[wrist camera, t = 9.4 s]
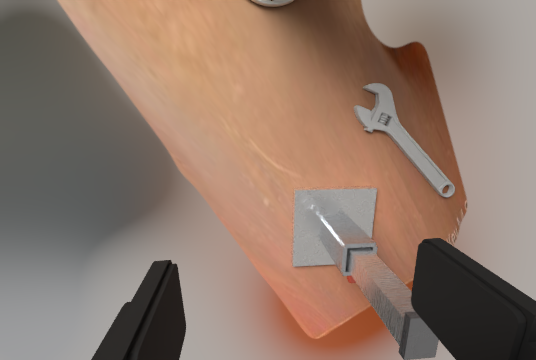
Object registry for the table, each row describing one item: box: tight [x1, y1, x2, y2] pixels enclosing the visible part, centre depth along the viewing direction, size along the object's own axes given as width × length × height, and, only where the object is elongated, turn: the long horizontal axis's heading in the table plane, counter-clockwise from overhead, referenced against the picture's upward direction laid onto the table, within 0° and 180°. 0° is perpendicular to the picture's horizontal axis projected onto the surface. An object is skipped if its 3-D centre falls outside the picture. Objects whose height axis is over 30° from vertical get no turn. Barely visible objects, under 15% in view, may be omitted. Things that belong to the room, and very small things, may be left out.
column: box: [346, 247, 439, 360], centre depth 32 cm, size 4×3×18 cm
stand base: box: [291, 186, 377, 283], centre depth 41 cm, size 14×14×12 cm
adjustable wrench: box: [354, 83, 455, 197], centre depth 44 cm, size 25×6×2 cm, turn 42°
